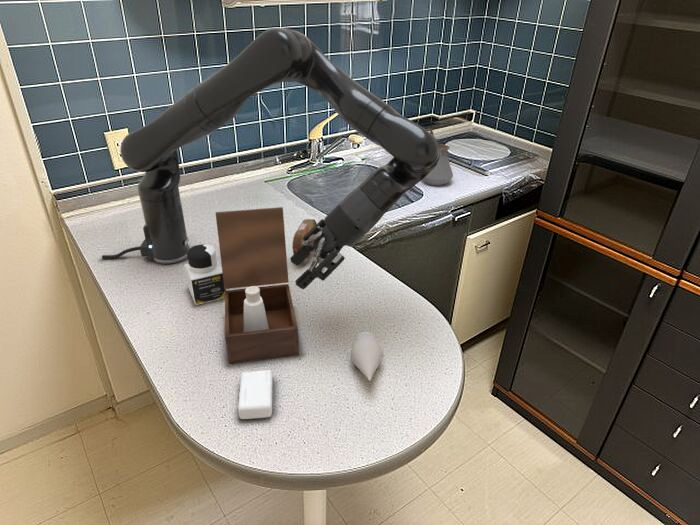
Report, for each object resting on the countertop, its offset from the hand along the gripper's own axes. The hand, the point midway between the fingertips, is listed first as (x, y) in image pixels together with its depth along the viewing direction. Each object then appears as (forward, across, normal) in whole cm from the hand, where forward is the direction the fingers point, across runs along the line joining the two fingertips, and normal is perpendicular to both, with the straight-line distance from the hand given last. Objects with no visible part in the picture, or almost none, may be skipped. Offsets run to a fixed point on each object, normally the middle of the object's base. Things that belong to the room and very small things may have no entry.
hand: (296, 274), depth 96 cm
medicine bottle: (+23, -18, -3) cm, 29 cm away
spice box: (+15, 0, +5) cm, 16 cm away
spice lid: (+5, -10, -6) cm, 12 cm away
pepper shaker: (+16, 0, +4) cm, 16 cm away
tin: (+6, -32, +14) cm, 35 cm away
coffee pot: (-32, -79, +52) cm, 100 cm away
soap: (+17, +18, +3) cm, 25 cm away
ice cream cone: (+2, +14, +18) cm, 23 cm away
